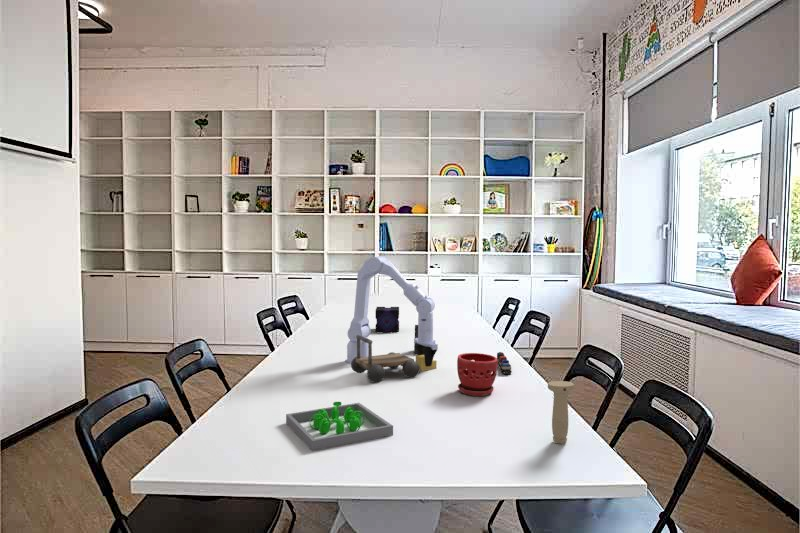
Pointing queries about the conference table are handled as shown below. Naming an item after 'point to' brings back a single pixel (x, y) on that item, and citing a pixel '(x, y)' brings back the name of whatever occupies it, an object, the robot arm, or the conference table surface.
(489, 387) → the plant pot
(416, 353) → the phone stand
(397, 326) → the energy cube
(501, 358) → the toy train
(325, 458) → the conference table surface
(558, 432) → the handle
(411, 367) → the trolley
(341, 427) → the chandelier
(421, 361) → the yellow step block
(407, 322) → the conference table surface
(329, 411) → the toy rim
